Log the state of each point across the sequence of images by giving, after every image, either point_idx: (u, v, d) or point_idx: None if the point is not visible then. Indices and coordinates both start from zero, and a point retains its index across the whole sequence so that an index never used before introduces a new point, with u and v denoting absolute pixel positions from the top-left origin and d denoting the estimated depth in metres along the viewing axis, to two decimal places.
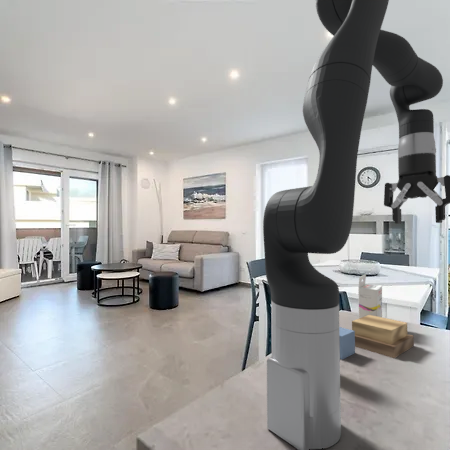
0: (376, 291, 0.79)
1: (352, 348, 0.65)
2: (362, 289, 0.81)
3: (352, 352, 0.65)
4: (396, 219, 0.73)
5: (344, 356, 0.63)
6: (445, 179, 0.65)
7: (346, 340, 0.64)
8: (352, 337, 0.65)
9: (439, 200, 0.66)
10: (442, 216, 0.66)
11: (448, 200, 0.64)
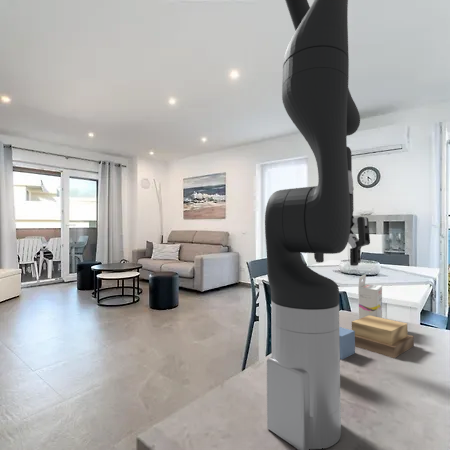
0: (376, 291, 0.79)
1: (352, 348, 0.65)
2: (362, 289, 0.81)
3: (352, 352, 0.65)
4: (317, 258, 0.70)
5: (344, 356, 0.63)
6: (358, 221, 0.62)
7: (346, 340, 0.64)
8: (352, 337, 0.65)
9: (353, 242, 0.63)
10: (356, 259, 0.62)
11: (361, 243, 0.61)
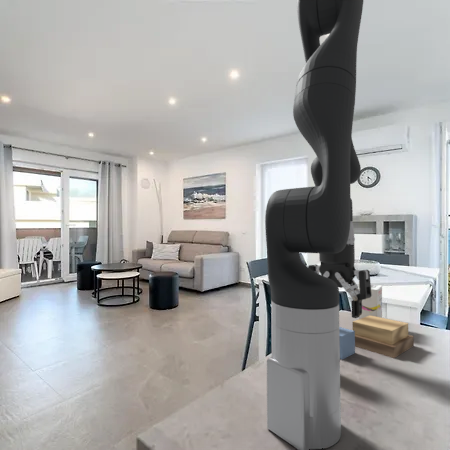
0: (376, 291, 0.79)
1: (352, 348, 0.65)
2: None
3: (352, 352, 0.65)
4: None
5: (344, 356, 0.63)
6: (359, 274, 0.62)
7: (346, 340, 0.64)
8: (352, 337, 0.65)
9: (354, 295, 0.62)
10: (357, 312, 0.62)
11: (362, 297, 0.61)
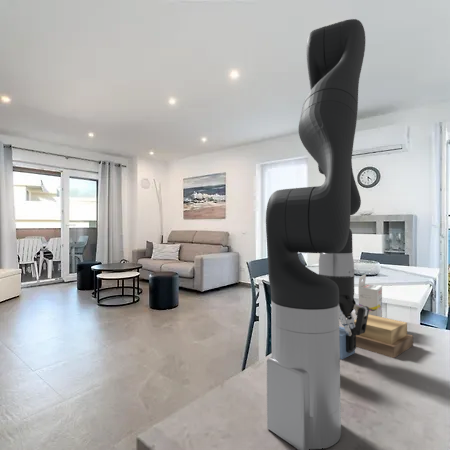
0: (376, 291, 0.79)
1: None
2: (362, 289, 0.81)
3: None
4: None
5: (344, 355, 0.63)
6: (359, 311, 0.61)
7: None
8: None
9: (349, 331, 0.63)
10: (351, 347, 0.63)
11: (356, 333, 0.62)
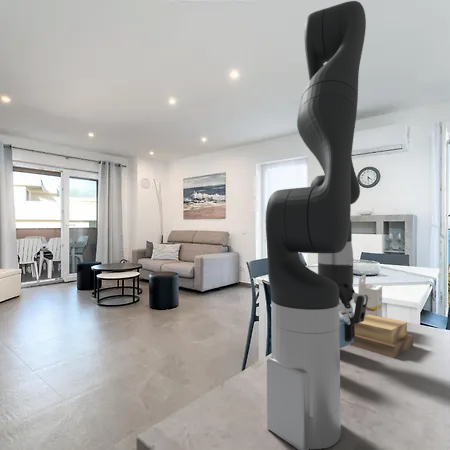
0: (376, 291, 0.79)
1: None
2: (362, 289, 0.81)
3: None
4: None
5: (343, 344, 0.63)
6: (358, 299, 0.61)
7: None
8: None
9: (348, 319, 0.63)
10: (350, 336, 0.63)
11: (355, 321, 0.62)
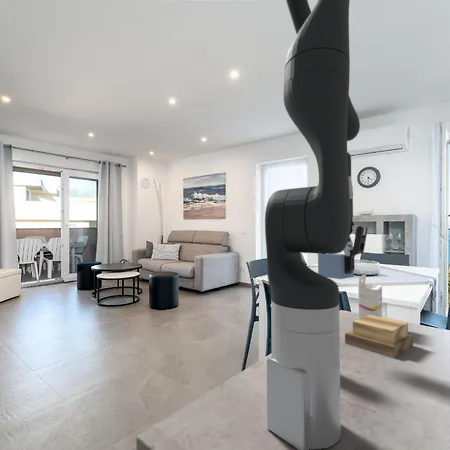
0: (376, 291, 0.79)
1: None
2: (362, 289, 0.81)
3: (350, 274, 0.66)
4: None
5: (343, 276, 0.64)
6: (357, 230, 0.62)
7: None
8: None
9: (348, 251, 0.63)
10: (350, 267, 0.63)
11: (354, 252, 0.62)
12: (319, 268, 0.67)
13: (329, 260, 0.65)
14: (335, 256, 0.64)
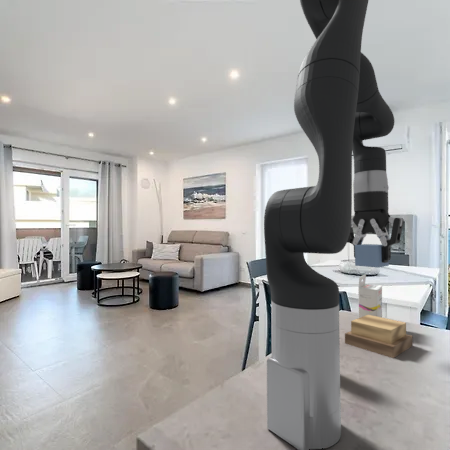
0: (376, 291, 0.79)
1: None
2: (362, 289, 0.81)
3: (386, 263, 0.70)
4: None
5: (380, 265, 0.68)
6: (394, 221, 0.66)
7: None
8: None
9: (385, 241, 0.68)
10: (387, 257, 0.68)
11: (392, 242, 0.66)
12: (356, 258, 0.71)
13: (366, 250, 0.69)
14: (373, 246, 0.68)
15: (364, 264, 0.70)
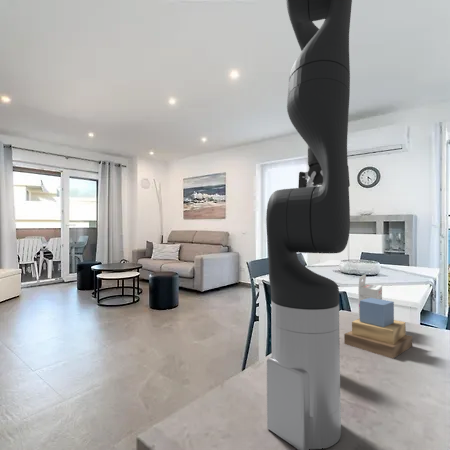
0: (376, 291, 0.79)
1: (391, 317, 0.70)
2: (362, 289, 0.81)
3: (391, 321, 0.70)
4: None
5: (385, 324, 0.67)
6: None
7: (387, 309, 0.68)
8: (391, 307, 0.70)
9: None
10: None
11: None
12: (361, 314, 0.71)
13: (371, 308, 0.69)
14: (378, 305, 0.68)
15: (369, 321, 0.69)
